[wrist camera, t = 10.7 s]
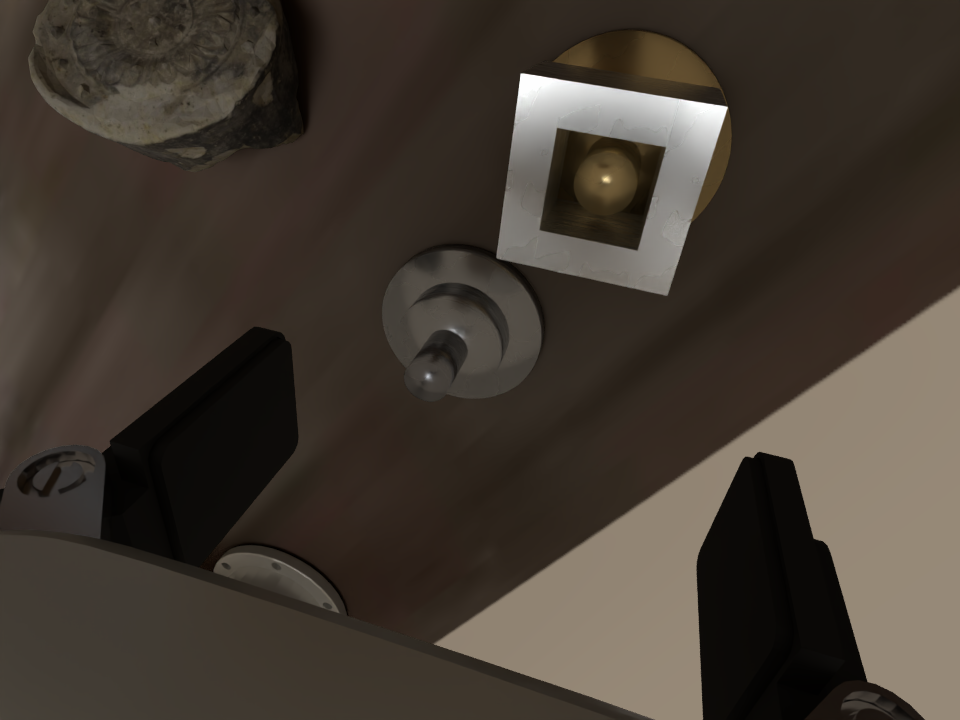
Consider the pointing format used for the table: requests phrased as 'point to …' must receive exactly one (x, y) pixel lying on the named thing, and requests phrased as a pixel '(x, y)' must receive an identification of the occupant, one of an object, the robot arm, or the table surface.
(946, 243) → the table surface
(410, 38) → the table surface
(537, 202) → the square sleeve
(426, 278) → the stand
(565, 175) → the hub
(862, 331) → the table surface
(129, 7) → the fossil
